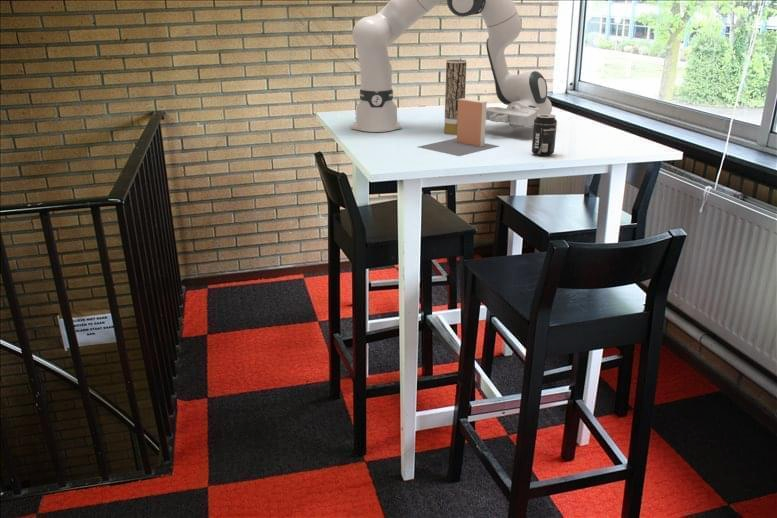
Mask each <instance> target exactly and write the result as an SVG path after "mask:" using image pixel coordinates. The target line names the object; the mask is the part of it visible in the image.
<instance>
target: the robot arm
mask: <svg viewBox="0 0 777 518" xmlns="http://www.w3.org/2000/svg"><path fill="white" fill-rule="evenodd" d="M443 3H446V4H447V7H448V10H450V11H451V13H452V14H454V15H455V16H457V17H461V18H463V17H468V16H469V17H470V16H475V15H481V17H482V18H483V21H484V23H485V26H486V29H487V33H488V38H487V39H486V42H485V46H486V47H485V48H486V51H487V57H488V60H489V63H490V64H489V65H490V68H491V69H490V70H491V71H492V75H493V80H494V85H495V93H496V98H497V99H498V100H499V101H500V102H501V103H502V104H504V105H506V106H507V107H506V108H504V107H498V106H492V107H491V106H489V107H488V106H487V107H486V121H490V122H494V123H503V124H508V125H509V126H511V127H513V128H520V127H521V128H523V127H527V128H528V127H530V128H533V126H534V120H535V119H536V117H537V115H538V114H552V110H553V105H552V102H551V100H550V99H549V98H548V83H547V81H546V78H545V77H544V76H543V75H542V73H541V72H539V71H538V70H537V71H536V70H533V71H528V72H523V73H518V74H511V73H510V72H509V68H508V64H507V61H506V56H505V50H506V48H507V47H508V46H510V45H511V44H512V43H513V42H514V41H516V40H517V38H518V37H519V36H520V33H521V30H522V21H521V17H520V15H519V12H518V10H517V7H516V5H515V3H514V1H513V0H389V1H388V2H387V3H386V5H385V6H384V7H383V8H381V9H380V11H378V12H377V13H376V14H374V15H369V16H364V17H363V18H361V19H359V20H358V21H357V22H356V24H355V25H354V26H353V28H352V39H353V42H354V44H355V45H356V51H357V56H358V60H359V67H360V68H359V70H360V89H359V99H360V100H359V102H358V104H357V105H356V106H355V110H354V111H355V118H354V119H355V122H354V123H352V124H351V126H350V129H351V130H356V131H362V132H370V133H377V132H378V133H382V132H383V133H384V132H391V131H395V130H402V129H403V125H402V124H400V123H399V122H398V106H397V104H396V103H395V102H394V101H393V99H394V89H393V87H392V80H393V79H392V74H393V73H392V72H393V71H392V70H393V69H392V67H393V66H392V64H391V63H390V57H389V52H388V47H389V46H390V45H391V44H393V43H394V42H395V41H396V40H398V39H399V38H400V37H401V36H402V35H403V34H404V33H405V32H406V31H407V30H408V29H409V28H410V27H411V26H412V25H414V24H415V23H416V22H417V21H419V20H420V19H421V18H422V17H424V16H425V15H427V14H428V13H429V12H430V11H431V10H432V9H434V8H435V7H436V6H438V5H439V4H443Z"/></svg>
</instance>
